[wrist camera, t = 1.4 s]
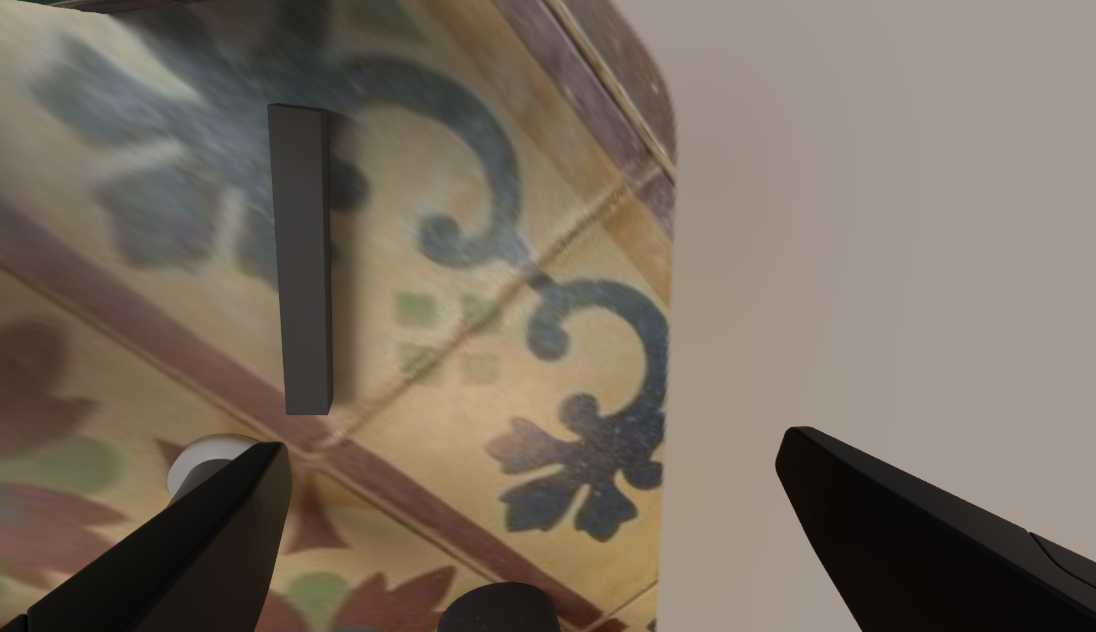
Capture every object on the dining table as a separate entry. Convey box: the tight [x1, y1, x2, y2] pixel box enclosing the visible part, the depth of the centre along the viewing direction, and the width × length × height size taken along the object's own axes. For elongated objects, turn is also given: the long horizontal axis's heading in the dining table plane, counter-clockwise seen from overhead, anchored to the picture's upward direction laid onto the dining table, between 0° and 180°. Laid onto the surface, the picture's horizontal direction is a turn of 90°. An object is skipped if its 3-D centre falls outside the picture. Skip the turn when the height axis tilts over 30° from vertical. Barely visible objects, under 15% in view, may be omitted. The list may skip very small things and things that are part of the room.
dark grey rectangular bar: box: [268, 103, 333, 415], centre depth 20 cm, size 12×2×2 cm, turn 171°
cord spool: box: [167, 434, 259, 507], centre depth 19 cm, size 4×4×10 cm
